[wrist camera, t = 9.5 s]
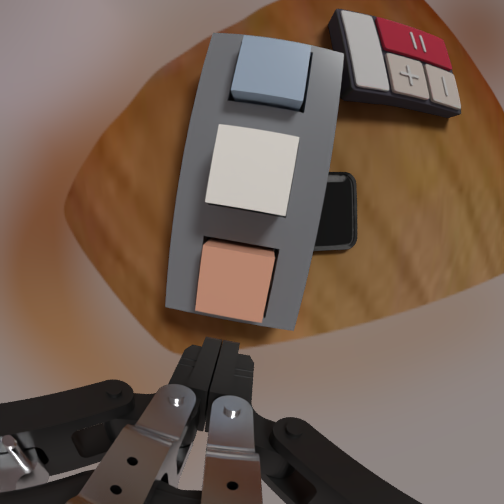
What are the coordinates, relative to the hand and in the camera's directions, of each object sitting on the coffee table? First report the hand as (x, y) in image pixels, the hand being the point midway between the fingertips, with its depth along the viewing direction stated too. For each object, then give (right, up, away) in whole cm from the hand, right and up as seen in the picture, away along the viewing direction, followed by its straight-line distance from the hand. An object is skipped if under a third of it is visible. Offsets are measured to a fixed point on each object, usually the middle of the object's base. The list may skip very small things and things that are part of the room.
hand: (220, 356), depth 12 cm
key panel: (+2, +12, +15) cm, 19 cm away
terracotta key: (0, +3, +14) cm, 14 cm away
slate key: (+3, +20, +10) cm, 23 cm away
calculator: (+18, +26, +12) cm, 34 cm away
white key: (+2, +11, +10) cm, 15 cm away
